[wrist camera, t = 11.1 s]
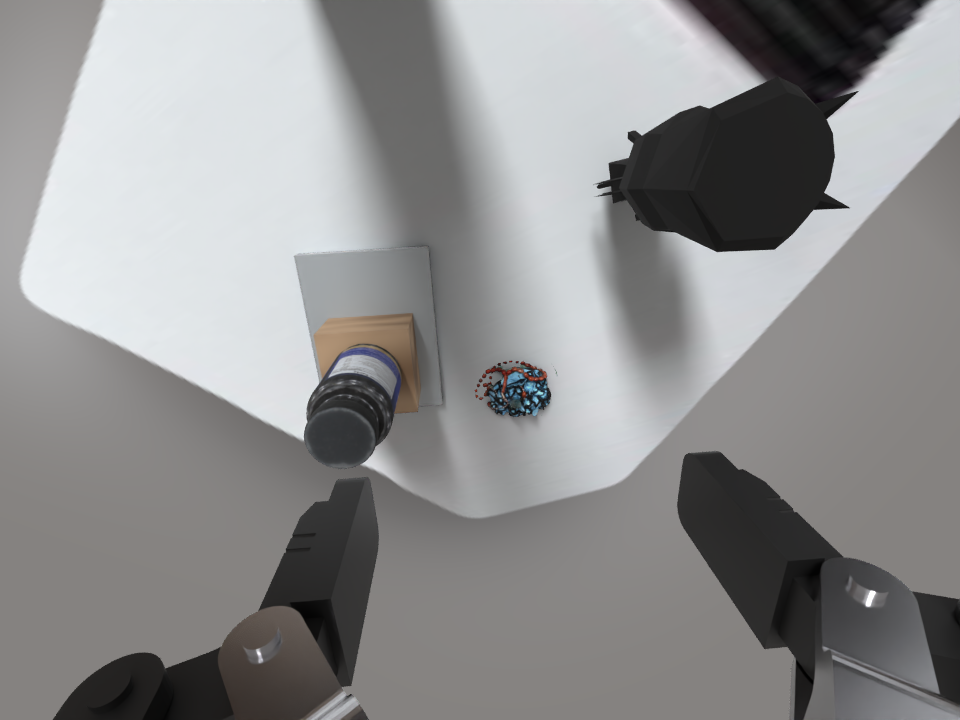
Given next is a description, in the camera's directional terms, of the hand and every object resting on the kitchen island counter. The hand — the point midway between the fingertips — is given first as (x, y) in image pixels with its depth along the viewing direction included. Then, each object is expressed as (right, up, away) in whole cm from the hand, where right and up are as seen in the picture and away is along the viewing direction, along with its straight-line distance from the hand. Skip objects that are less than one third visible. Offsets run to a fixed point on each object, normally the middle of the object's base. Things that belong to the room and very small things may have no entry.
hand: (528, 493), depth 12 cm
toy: (+12, +20, +30) cm, 38 cm away
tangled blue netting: (+3, +1, +37) cm, 37 cm away
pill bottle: (-11, +2, +29) cm, 31 cm away
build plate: (-12, +6, +33) cm, 36 cm away
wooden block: (-11, +4, +33) cm, 35 cm away
